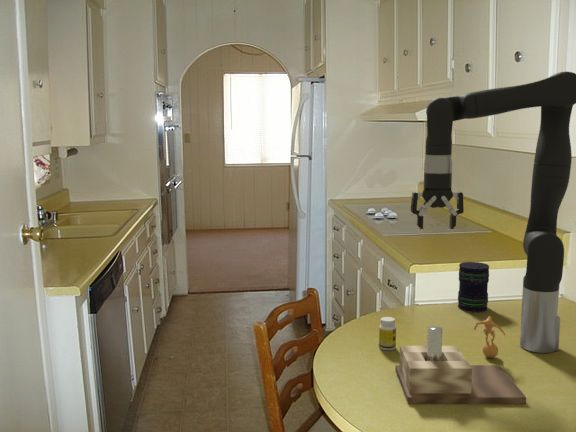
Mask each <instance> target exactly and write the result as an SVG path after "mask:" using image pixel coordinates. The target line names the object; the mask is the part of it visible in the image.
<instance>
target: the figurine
mask: <svg viewBox="0 0 576 432" xmlns="http://www.w3.org/2000/svg"><path fill="white" fill-rule="evenodd" d="M478 325H484V330H483V333H484V335H485V342H486V343H485V344H484V345H483V347H482V353H483V355H484V356H485V357H487V358H490V359H492V358H493V359H494V358H495V357H497V355H498V354H499V348H498V346H497V345H496V343H494V341H495V337H496V334H495V330H492V329H493V327H495V328H497V329H499V330H500V332H501V333H502V334H503V335H504V337H507V336H506V333H505V332H504V330H503V329H502V327H501V326H499V325H498V324H497V323H495V322H494V321H493V320H492V316H490V315H489V316H488V317H487V318H486V319H484V320H482V321H478V322H476V323H475V326H474V328H473V331H477V328H478ZM489 335H490V336H491V339H490V341H491V342H489Z"/></svg>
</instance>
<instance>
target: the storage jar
mask: <svg viewBox="0 0 576 432" xmlns="http://www.w3.org/2000/svg"><path fill="white" fill-rule="evenodd" d="M458 266H459V269H458V281H459V286H458V287H459V289H458V290H459V291H458V293H457V303H458V304H457V309H459V310H461V311H464V312H468V313H483V312H486V311H488V303H489V293H488V287H489V285H488V284H489V281H490V278H489V277H490V273H489V272H490V270H489V269H490V265H489V264H488V263H483V262H477V261H476V262H475V261H467V262H466V261H464V262H461V263H459V265H458Z"/></svg>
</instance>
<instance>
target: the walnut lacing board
mask: <svg viewBox="0 0 576 432" xmlns="http://www.w3.org/2000/svg"><path fill="white" fill-rule="evenodd" d="M469 365H470V366H471V368H472V386H471V393H409V391H408V388H407V386H406V383H405V381H404V378H403V376H402V373H401V371H400V364H397V365H396V364H395V368H394V369H395V373H396V376H397V379H398V380H399V381H398V382H399V384H400V387H401V389H402V392H403V395H404V398H405V400H406V402H407V404H408V405H411V404H415V405H418V404H420V405H421V404H424V405H425V404H426V405H427V404H428V405H430V404H431V405H435V404H436V405H438V404H440V405H445V404H446V405H449V404H450V405H451V404H453V405H454V404H456V405H457V404H459V405H460V404H461V405H462V404H463V405H466V404H467V405H473V404H474V405H475V404H476V405H477V404H478V405H482V404H483V405H485V404H486V405H492V404H495V405H497V404H498V405H499V404H500V405H502V404H503V405H504V404H505V405H512V404H513V405H520V404H521V405H526V404H527V396H526V395H525V394H524V393H523V392H522V390H521V389H520V388H519V387H518V385H517V384H516V383H515V382H514V380H512V378H511V377H510V375H508V373H507V372H506V370H504V368H503V367H502V366H501V365H500V364H496V365H495V364H483V365H482V364H479V365H478V364H472V365H471V364H469Z"/></svg>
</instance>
